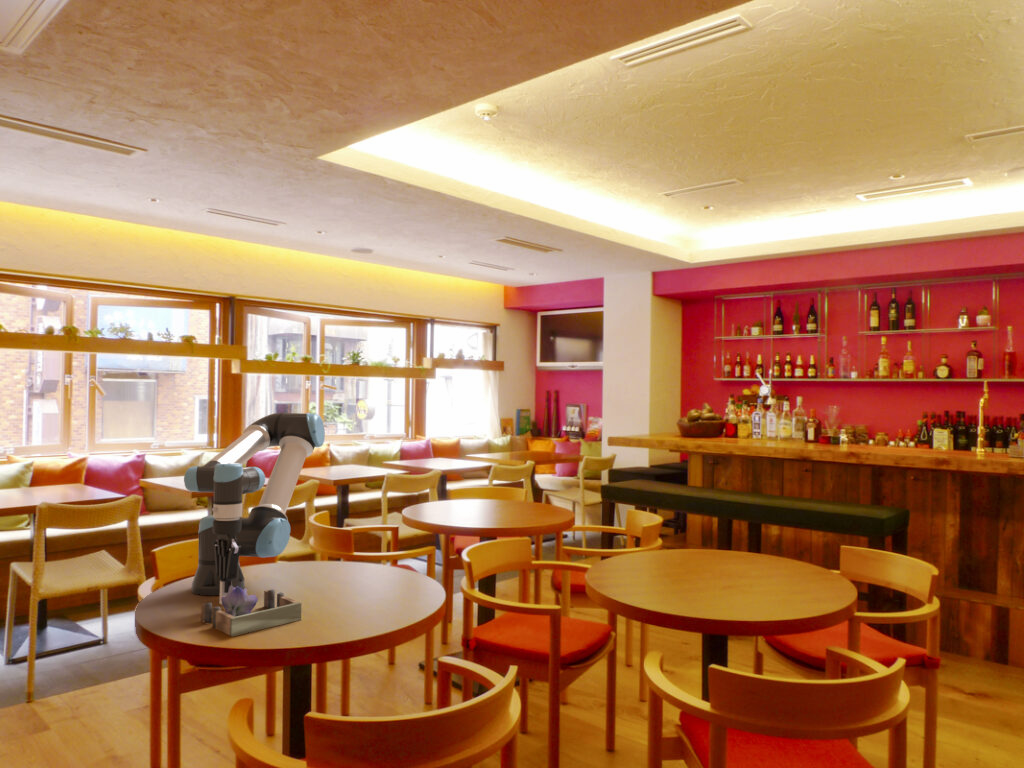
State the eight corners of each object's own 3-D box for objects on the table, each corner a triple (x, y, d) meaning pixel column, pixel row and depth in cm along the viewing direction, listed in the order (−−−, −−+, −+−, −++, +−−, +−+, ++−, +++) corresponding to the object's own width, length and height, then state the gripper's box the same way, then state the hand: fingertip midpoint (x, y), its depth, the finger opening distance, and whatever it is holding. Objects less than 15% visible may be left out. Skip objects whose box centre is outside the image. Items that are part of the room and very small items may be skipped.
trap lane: (199, 621, 187) (200, 602, 187) (268, 605, 202) (269, 587, 202) (231, 637, 175) (231, 616, 175) (302, 619, 189) (302, 600, 189)
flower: (251, 599, 185) (246, 575, 193) (219, 615, 182) (214, 590, 190) (265, 621, 190) (259, 597, 198) (233, 637, 187) (228, 612, 195)
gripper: (204, 517, 200) (202, 601, 199) (224, 522, 191) (222, 610, 190) (230, 514, 206) (228, 596, 205) (251, 519, 197) (249, 605, 196)
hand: (225, 603), depth 198 cm, fingers closed
